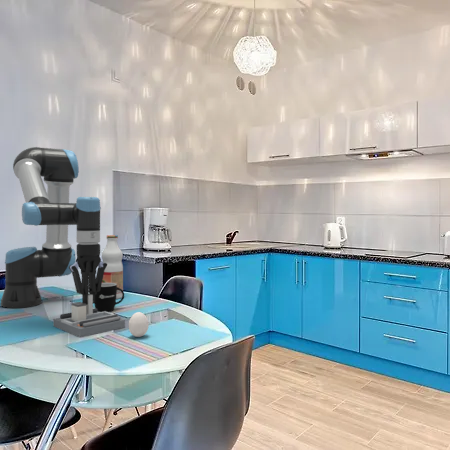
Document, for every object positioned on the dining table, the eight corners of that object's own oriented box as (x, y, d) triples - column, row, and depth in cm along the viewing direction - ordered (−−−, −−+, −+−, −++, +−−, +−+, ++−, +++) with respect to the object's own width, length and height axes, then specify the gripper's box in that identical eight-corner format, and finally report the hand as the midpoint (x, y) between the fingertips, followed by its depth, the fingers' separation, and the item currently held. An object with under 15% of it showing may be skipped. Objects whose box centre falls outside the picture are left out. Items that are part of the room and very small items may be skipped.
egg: (131, 333, 134) (131, 309, 134) (150, 334, 134) (150, 310, 134) (126, 339, 128) (126, 314, 128) (146, 339, 128) (146, 314, 128)
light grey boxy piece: (71, 320, 139) (71, 303, 139) (80, 318, 142) (80, 301, 142) (77, 322, 137) (77, 305, 137) (86, 320, 139) (86, 303, 139)
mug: (95, 313, 160) (95, 287, 160) (91, 309, 168) (91, 283, 168) (126, 310, 165) (126, 284, 165) (121, 306, 173) (121, 281, 173)
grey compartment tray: (53, 326, 142) (53, 316, 142) (96, 317, 154) (96, 308, 154) (79, 337, 130) (79, 326, 130) (125, 327, 142) (125, 317, 142)
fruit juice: (122, 299, 187) (122, 235, 186) (100, 299, 185) (99, 235, 184) (123, 295, 196) (123, 234, 195) (102, 295, 194) (102, 234, 194)
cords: (83, 327, 131) (83, 322, 131) (60, 318, 142) (60, 314, 142) (120, 320, 141) (120, 315, 141) (96, 312, 152) (96, 307, 152)
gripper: (75, 245, 134) (75, 319, 134) (111, 243, 143) (111, 312, 144) (64, 243, 139) (64, 315, 140) (100, 241, 148) (100, 308, 149)
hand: (88, 313), depth 142 cm, fingers closed
